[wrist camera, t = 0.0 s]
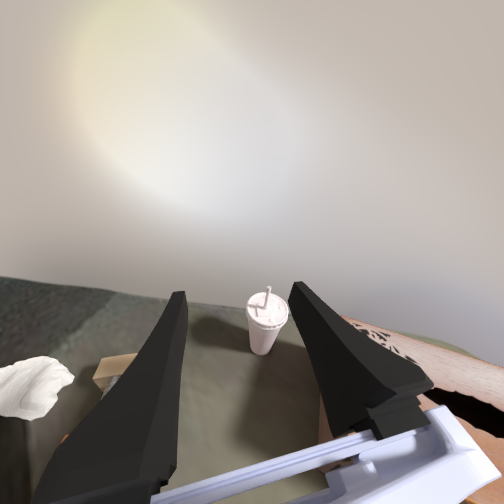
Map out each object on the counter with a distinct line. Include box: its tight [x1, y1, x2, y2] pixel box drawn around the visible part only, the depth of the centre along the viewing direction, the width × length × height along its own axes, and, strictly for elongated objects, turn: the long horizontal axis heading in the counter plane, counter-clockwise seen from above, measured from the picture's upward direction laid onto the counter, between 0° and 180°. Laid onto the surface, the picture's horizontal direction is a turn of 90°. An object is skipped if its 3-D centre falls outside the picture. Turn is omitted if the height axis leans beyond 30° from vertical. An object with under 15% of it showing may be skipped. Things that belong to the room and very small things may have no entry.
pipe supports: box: [61, 353, 138, 443], centre depth 17 cm, size 21×10×4 cm, turn 12°
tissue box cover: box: [317, 315, 504, 504], centre depth 20 cm, size 26×14×10 cm, turn 69°
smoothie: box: [246, 286, 288, 355], centre depth 29 cm, size 6×6×14 cm
